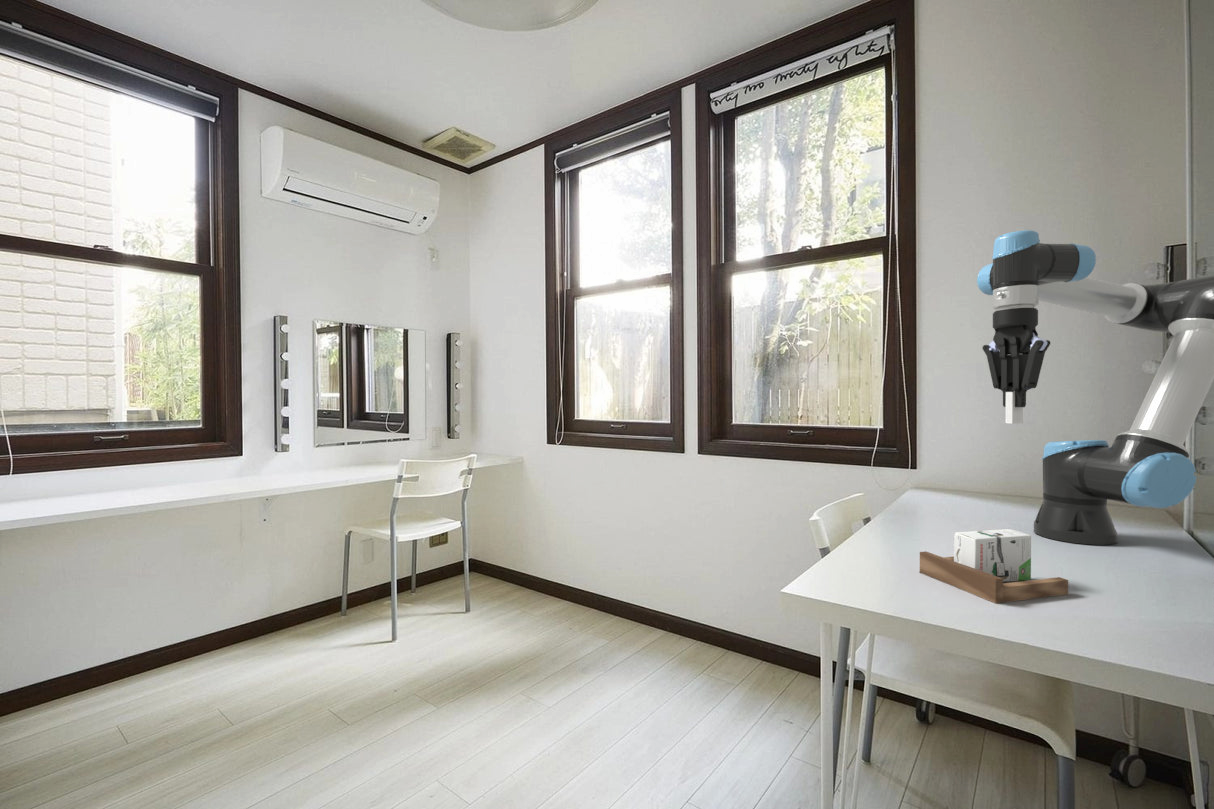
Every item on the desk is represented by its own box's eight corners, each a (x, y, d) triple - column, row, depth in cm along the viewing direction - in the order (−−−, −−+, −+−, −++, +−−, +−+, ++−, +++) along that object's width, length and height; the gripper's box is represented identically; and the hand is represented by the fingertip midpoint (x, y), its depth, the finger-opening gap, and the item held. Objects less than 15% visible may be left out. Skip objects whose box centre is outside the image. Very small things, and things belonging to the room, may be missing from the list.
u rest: (984, 565, 110) (984, 546, 110) (1068, 594, 94) (1068, 571, 94) (919, 572, 106) (919, 552, 106) (995, 603, 91) (995, 579, 91)
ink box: (1032, 581, 100) (975, 586, 98) (1007, 572, 105) (953, 577, 103) (1032, 534, 99) (974, 538, 98) (1007, 527, 104) (952, 531, 102)
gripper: (972, 313, 118) (971, 422, 119) (1031, 303, 106) (1030, 425, 106) (1000, 313, 120) (999, 421, 121) (1062, 304, 107) (1060, 424, 108)
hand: (1014, 423), depth 113 cm, fingers closed
